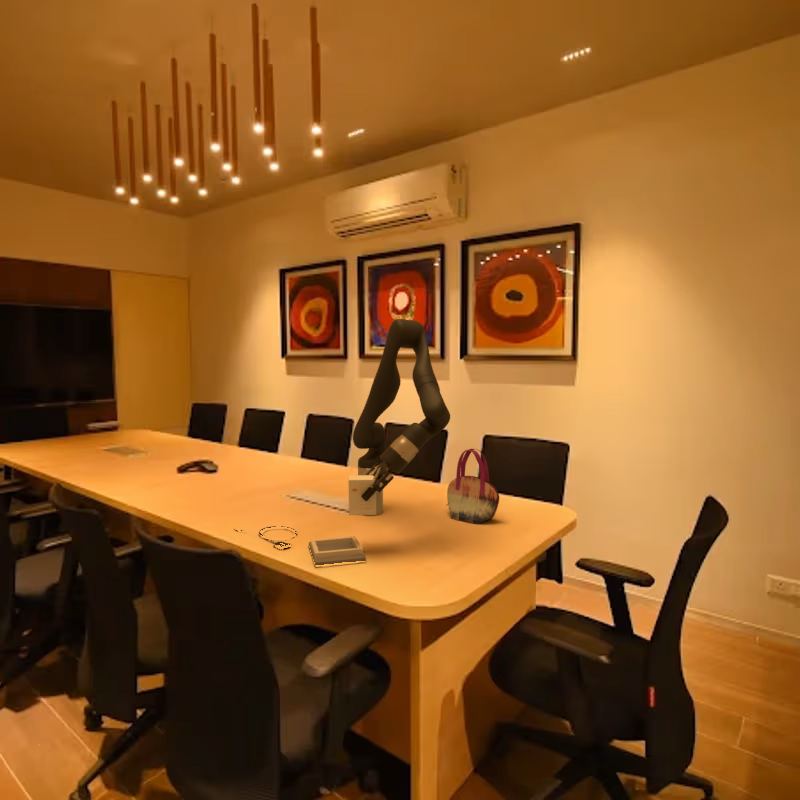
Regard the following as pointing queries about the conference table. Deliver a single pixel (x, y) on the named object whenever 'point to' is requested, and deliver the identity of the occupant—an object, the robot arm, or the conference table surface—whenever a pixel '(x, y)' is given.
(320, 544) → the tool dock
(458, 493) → the handbag
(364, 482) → the small box
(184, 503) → the conference table surface
